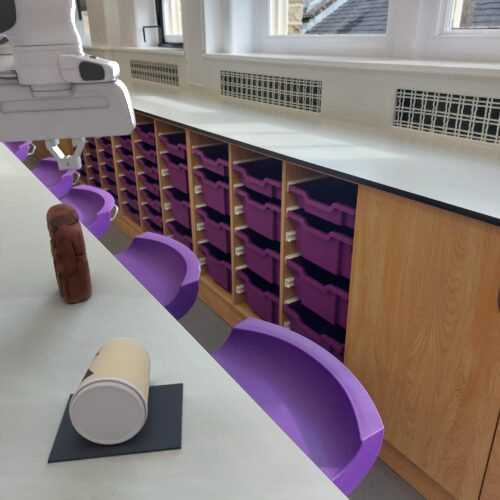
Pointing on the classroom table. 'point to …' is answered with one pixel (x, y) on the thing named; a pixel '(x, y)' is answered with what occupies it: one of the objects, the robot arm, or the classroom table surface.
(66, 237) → the wooden figurine
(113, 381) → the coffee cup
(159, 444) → the rubber mat
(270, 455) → the classroom table surface
